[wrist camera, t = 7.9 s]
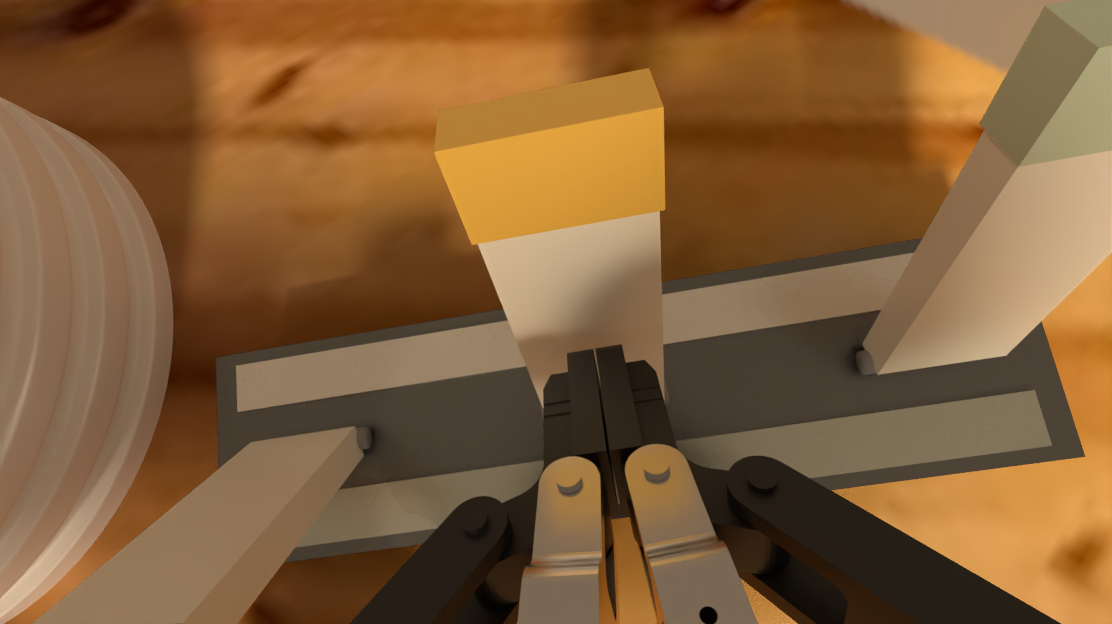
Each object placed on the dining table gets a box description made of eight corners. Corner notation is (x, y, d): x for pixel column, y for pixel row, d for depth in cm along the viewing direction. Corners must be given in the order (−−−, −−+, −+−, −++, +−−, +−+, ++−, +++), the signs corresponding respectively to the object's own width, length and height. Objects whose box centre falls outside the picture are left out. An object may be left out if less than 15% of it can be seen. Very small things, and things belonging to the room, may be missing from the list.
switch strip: (999, 447, 21) (1090, 457, 17) (286, 543, 24) (217, 572, 20) (942, 255, 23) (1013, 221, 19) (277, 365, 25) (211, 357, 21)
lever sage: (1004, 366, 18) (1402, -10, 8) (866, 386, 18) (1092, 48, 9) (981, 331, 18) (1318, -50, 9) (850, 351, 19) (1038, 6, 9)
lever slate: (375, 449, 20) (112, 811, 9) (265, 465, 21) (-124, 833, 9) (366, 415, 20) (78, 746, 8) (254, 432, 20) (-165, 771, 9)
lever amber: (671, 415, 19) (669, 105, 9) (546, 433, 19) (428, 153, 10) (663, 381, 19) (654, 67, 10) (544, 399, 20) (433, 111, 11)
